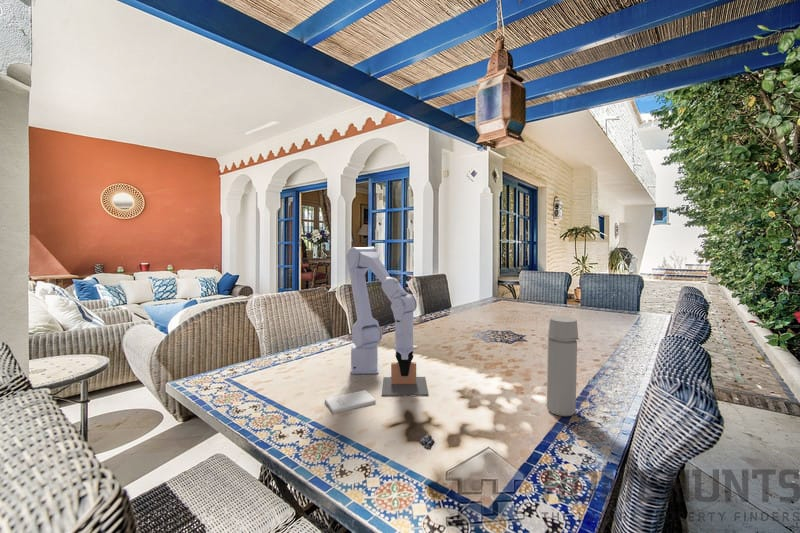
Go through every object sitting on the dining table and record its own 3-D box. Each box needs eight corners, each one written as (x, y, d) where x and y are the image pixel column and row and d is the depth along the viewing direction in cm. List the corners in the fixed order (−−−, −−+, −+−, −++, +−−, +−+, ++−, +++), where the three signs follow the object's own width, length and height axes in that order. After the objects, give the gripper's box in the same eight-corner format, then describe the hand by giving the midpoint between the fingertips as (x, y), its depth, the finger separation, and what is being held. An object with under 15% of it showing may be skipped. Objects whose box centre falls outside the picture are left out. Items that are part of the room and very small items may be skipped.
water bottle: (575, 420, 91) (577, 323, 89) (542, 413, 95) (544, 320, 94) (579, 406, 99) (581, 316, 97) (548, 400, 103) (550, 314, 101)
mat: (381, 396, 107) (381, 394, 107) (383, 378, 121) (383, 377, 121) (428, 395, 107) (428, 394, 107) (425, 377, 121) (425, 376, 121)
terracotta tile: (391, 383, 115) (391, 364, 115) (391, 381, 117) (391, 362, 116) (416, 383, 115) (416, 363, 115) (416, 381, 117) (415, 362, 116)
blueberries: (441, 437, 86) (441, 429, 86) (447, 453, 78) (447, 445, 78) (413, 438, 86) (413, 430, 86) (416, 454, 78) (416, 445, 78)
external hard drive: (375, 405, 102) (333, 415, 97) (365, 394, 109) (324, 403, 104) (375, 399, 102) (333, 409, 96) (365, 389, 109) (324, 397, 104)
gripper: (417, 338, 108) (418, 383, 108) (415, 327, 122) (415, 366, 123) (394, 339, 108) (394, 383, 108) (394, 327, 122) (395, 366, 123)
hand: (404, 374), depth 116 cm, fingers closed on terracotta tile, 2 cm apart
